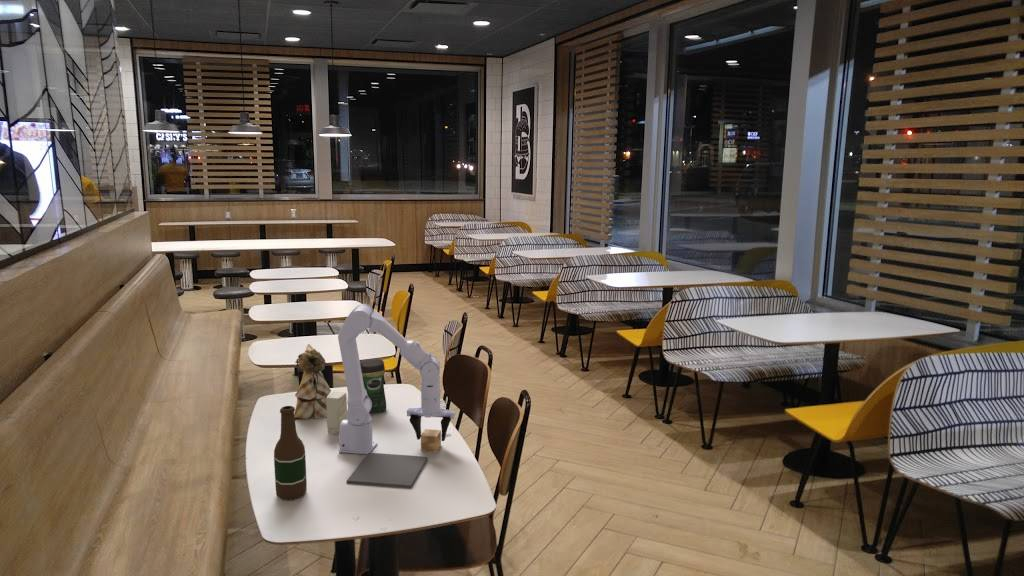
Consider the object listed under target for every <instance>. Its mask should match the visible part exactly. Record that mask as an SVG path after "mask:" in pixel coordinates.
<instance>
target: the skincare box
mask: <svg viewBox="0 0 1024 576" xmlns="http://www.w3.org/2000/svg"><path fill="white" fill-rule="evenodd" d="M347 400H348V397H347V392H342V391H341V392H340V391H333V392H332V393H330V394H329V395H328V396H327V397H326V405H327V417H326V422H327V423H326V424H327V427H326V428H327V434H331V435H339V427H340V424H341V422H342V420H347V416H346V413H347V410H348V404H347Z"/></svg>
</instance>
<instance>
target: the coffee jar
mask: <svg viewBox="0 0 1024 576" xmlns="http://www.w3.org/2000/svg"><path fill="white" fill-rule="evenodd" d="M359 360H360V359H359ZM360 366H361V372H362V377H363V383H364V388H365V389H366V391H367V395H368V397H369V398H370V400H371V402H372V408H371V410H370V411H369V414H372V415H373V414H378V413H382V412H385V410H387V400H386V399H387V398H386V393H385V386H384V375H385V372H386V366H385V363H384V360H383V359H382V358H381V357H378V358H377V357H376V358H370V359H362V360H360Z"/></svg>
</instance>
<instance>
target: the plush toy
mask: <svg viewBox="0 0 1024 576" xmlns="http://www.w3.org/2000/svg"><path fill="white" fill-rule="evenodd" d="M295 363H296V365H295V367H296V369H297V372H298V373H299V372H303V374H302V376H301V381H300V384H299V387H298V388H297V391H296V393H295V394H294V396H295V397H296V398H297V399H296V404H295V411H294V416H295V419H301V420H302V419H303V420H305V419H306V420H307V419H309V420H310V419H321V418H323V419H324V418H327V405H326V397H328V396H329V395H331V392H332V390H331V387H330V386H329V384H328V383H327V381H326V379H325V377H324V374H323V373H322V371H324V370H325V369H326V368H325V365H326V364H327V362H326V360H325V357H324V356H323V355H322V354H321V352H320V351H318V350H316V348H313V347H312V345H311V344H309V343H308V344H307V346H306V347H305V350H304V352H303V353H300V354H299V355H298V356H297V359H296V360H295Z"/></svg>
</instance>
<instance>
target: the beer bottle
mask: <svg viewBox="0 0 1024 576" xmlns="http://www.w3.org/2000/svg"><path fill="white" fill-rule="evenodd" d="M295 409H296V407H295V406H292V405H285V406H282V407H281V408H280V410H279V413H280V436H279V439H278V441H277V442H276V444H275V447H274V450H273V466H274V481H275V482H274V483H275V494H276V496H277V497H278V498H279V499H280V500H281V501H296V500H297V499H300V498H302V497H304V496H305V494H306V492H307V484H308V483H307V480H308V479H307V463H306V448H305V445H304V443H303V442H304V441H303V440H302V439H301V438H300V437H299V435H298V433H297V425H296V418H295V416H294V414H295Z"/></svg>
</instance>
